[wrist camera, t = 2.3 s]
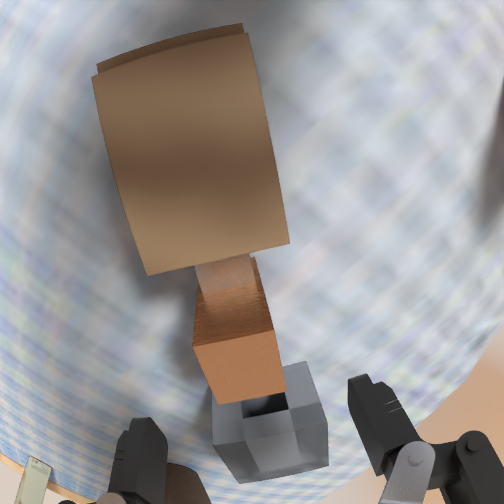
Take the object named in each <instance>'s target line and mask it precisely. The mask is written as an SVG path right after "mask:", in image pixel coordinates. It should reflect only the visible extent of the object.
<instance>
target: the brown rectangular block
mask: <svg viewBox="0 0 504 504" xmlns="http://www.w3.org/2000/svg"><path fill="white" fill-rule="evenodd" d="M97 70H98V74H97V75H95V76H93V77H91V78H92V83H93V89H94V94H95V99H96V104H97V108H98V113H99V118H100V122H101V126H102V131H103V135H104V139H105V143H106V147H107V151H108V155H109V159H110V162H111V166H112V170H113V173H114V177H115V180H116V184H117V187H118V191H119V194H120V197H121V201H122V204H123V207H124V210H125V213H126V216H127V219H128V223H129V226H130V229H131V232H132V234H133V237H134V240H135V243H136V246H137V249H138V252H139V254H140V257H141V260H142V263H143V265H144V268H145V271H146V273H147V276H150V275H154V274H159V273H163V272H167V271H172V270H176V269H181V268H185V267H189V266H194V265H198V264H203V263H207V262H211V261H216V260H220V259H224V258H229V257H233V256H238V255H242V254H246V253H251V252H255V251H260V250H264V249H268V248H273V247H277V246H282V245H286V244H290V240H289V234H288V228H287V222H286V217H285V211H284V205H283V200H282V194H281V189H280V183H279V178H278V172H277V167H276V162H275V157H274V152H273V147H272V142H271V137H270V132H269V127H268V122H267V117H266V112H265V107H264V103H263V98H262V93H261V89H260V84H259V80H258V75H257V71H256V66H255V62H254V58H253V53H252V49H251V45H250V41H249V37H248V33H244V30H243V26H242V23H240V24H234V25H228V26H222V27H217V28H212V29H207V30H202V31H198V32H194V33H189V34H185V35H181V36H178V37H174V38H170V39H167V40H163V41H160V42H156V43H153V44H150V45H147V46H144V47H141V48H138V49H135V50H132V51H129V52H126V53H123V54H121V55H118V56H115V57H113V58H110V59H108V60H105V61H103V62H100V63H98V64H97Z"/></svg>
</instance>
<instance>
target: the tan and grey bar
mask: <svg viewBox="0 0 504 504" xmlns="http://www.w3.org/2000/svg"><path fill="white" fill-rule="evenodd" d="M194 269H195V272H196V275H197V278H198V281H199V285H198V294H197V303H196V313H195V323H194V334H193V345H192V347H193V350H194V352H195V354H196V357H197V359H198V361H199V363H200V366H201V368H202V370H203V372H204V375H205V377H206V379H207V381H208V383H209V386H210V388H211V390H212V392H213V394H214V396H215V398H216V400H217V403H218V405H219V404H226V403H232V402H237V401H243V400H248V399H253V398H258V397H263V396H268V395H273V394H277V393H281V392H286V391H287V388H286V384H285V379H284V374H283V369H282V364H281V360H280V355H279V350H278V345H277V341H276V336H275V331H274V327H273V323H272V320H271V316H270V312H269V308H268V304H267V301H266V297H265V293H264V289H263V286H262V282H261V278H260V274H259V271H258V267H257V263H256V259H255V257H252V258H250V256H249V253H246V254H242V255H238V256H233V257H229V258H224V259H220V260H216V261H211V262H207V263H203V264H198V265H194Z"/></svg>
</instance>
